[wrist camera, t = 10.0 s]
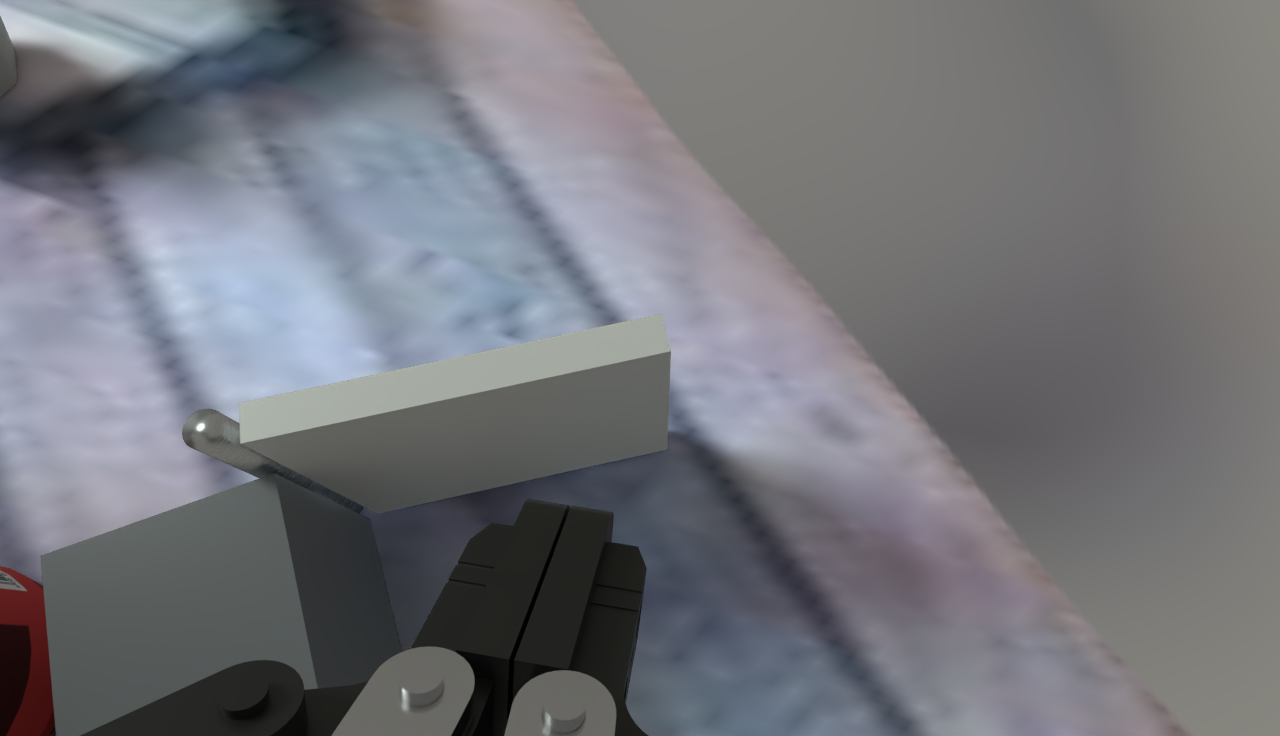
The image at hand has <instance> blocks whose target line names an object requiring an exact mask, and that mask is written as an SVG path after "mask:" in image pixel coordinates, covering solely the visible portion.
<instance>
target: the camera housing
mask: <svg viewBox="0 0 1280 736" xmlns="http://www.w3.org/2000/svg"><path fill="white" fill-rule="evenodd" d="M182 436H183V440H184V442H185V443H186V444H187V445H188V446H189V447H191V448H193V449H195V450H197V451H200V452H202V453H204V454H206V455H209V456H211V457H213V458H215V459H218V460H220V461H222V462H224V463H227V464H229V465H231V466H233V467H235V468H238V469H240V470H242V471H244V472H247V473H249V474H251V475H253V476H256V477H258V478H260V479H257V480H254V481H252V482H249V483H246V484H243V485H240V486H237V487H235V488H232V489H229V490H226V491H223V492H220V493H218V494H215V495H212V496H209V497H206V498H203V499H201V500H198V501H195V502H192V503H189V504H186V505H184V506H181V507H178V508H175V509H172V510H169V511H167V512H164V513H161V514H158V515H155V516H152V517H150V518H147V519H144V520H141V521H138V522H135V523H133V524H130V525H127V526H124V527H121V528H118V529H116V530H113V531H110V532H107V533H104V534H101V535H99V536H96V537H93V538H90V539H87V540H84V541H82V542H79V543H76V544H73V545H70V546H68V547H65V548H62V549H59V550H56V551H53V552H51V553H48V554H45V555H42V556H41V566H42V578H43V590H44V601H45V613H46V625H47V636H48V648H49V659H50V671H51V683H52V694H53V706H54V718H55V729H56V736H80V735H82V734H85V733H87V732H89V731H91V730H93V729H95V728H98V727H100V726H102V725H104V724H106V723H108V722H111V721H113V720H115V719H117V718H119V717H121V716H124V715H126V714H128V713H130V712H132V711H134V710H137V709H139V708H141V707H143V706H145V705H148V704H150V703H152V702H154V701H156V700H158V699H161V698H163V697H165V696H167V695H169V694H171V693H174V692H176V691H178V690H180V689H182V688H184V687H187V686H189V685H191V684H193V683H195V682H197V681H200V680H202V679H204V678H206V677H208V676H211V675H213V674H215V673H217V672H219V671H221V670H224V669H226V668H228V667H231V666H233V665H236V664H240V663H243V662H248V661H254V660H273V661H278V662H282V663H284V664H287V665H289V666H290V667H292V668H293V669H295V670H296V671H297V672H298V673H299V675H300V676H301V678H302V680H303V685H304V690H307V689H318V688H328V687H338V686H348V685H354V684H359V683H362V682H366V681H369V680H370V678H371V677H372V676H373V674H374V673H375V672H376V670H377V669H378V668H379V667H380V666H381V665H382V664H383V663H384V662H385V661H387V660H388V659H390V658H391V657H393V656H395V655H397V654H399V653H401V652H402V650H401V646H400V642H399V638H398V634H397V630H396V626H395V622H394V617H393V613H392V609H391V605H390V601H389V597H388V593H387V589H386V584H385V580H384V576H383V572H382V568H381V564H380V560H379V556H378V551H377V547H376V543H375V539H374V535H373V531H372V527H371V523H370V519H369V518H367V517H365V516H362V515H360V514H358V513H359V512H360V511H361V510H362V508H363V506H362V505H360V504H358V503H356V502H354V501H352V500H350V499H348V498H346V497H344V496H342V495H340V494H338V493H336V492H334V491H332V490H330V489H328V488H327V487H325V486H323V485H321V484H319V483H317V482H315V481H313V480H311V479H309V478H307V477H305V476H303V475H301V474H299V473H297V472H295V471H293V470H291V469H289V468H287V467H285V466H283V465H281V464H279V463H277V462H276V461H274V460H272V459H270V458H268V457H266V456H264V455H262V454H260V453H258V452H256V451H254V450H252V449H250V448H248V447H246V446H244V445H242V444H240V424H239V423H238V422H236V421H234V420H232V419H230V418H229V417H227V416H225V415H223V414H221V413H220V412H218V411H216V410H213V409H202V410H199V411H197V412H195V413H193V414H192V415H191V416H190V417H189V418H188V419H187V420H186V422H185V424H184V426H183V430H182Z"/></svg>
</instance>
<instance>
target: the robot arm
mask: <svg viewBox="0 0 1280 736" xmlns="http://www.w3.org/2000/svg"><path fill="white" fill-rule="evenodd" d="M613 517H614V515H613V512H607V511H601V510H595V509H588V508H582V507H576V506H572V507H571V508H570V506H569V505H562V504H556V503H550V502H544V501H537V500H531V499H527V500H526V502H525V504H524V506H523V508H522V510H521V512H520V514H519V516H518V519H517V521H516V523H515V525H514V527H512V526H506V525H500V524H494V523H492V524H490V525H489V526H488V527H486V528H485V529H484V530H482V531H481V532H480V533H478V534H477V535H476V536H474V537H473V538H472V539H470V541H469V543H468V544H467V546H466V548H465V550H464V552H463V554H462V556H461V557H460V559H459V561H458V566H457V565H456V567H455V568H454V570H453V572H452V574H451V576H450V578H449V582H448V583H446V585H445V587H444V589H443V591H442V592H441V594H440V596H439V598H438V600H437V602H436V604H435V605H434V607H433V609H432V611H431V613H430V615H429V616H428V618H427V620H426V622H425V624H424V626H423V628H422V629H421V631H420V633H419V635H418V637H417V639H416V640H415V642H414V644H413V646H412V648H411V649H409V650H406V651H403V652H401V653H399V654H397V655H395V656H393V657H391V658H390V659H388V660H387V661H385V662H384V663H383V664H382V665H381V666H380V667H379V668H378V669H377V670H376V672H375V673H374V674H373V676H372V677H371V678H370V680H369V681H366V682H362V683H359V684H354V685H348V686H338V687H328V688H318V689H307V690H304V685H303V680H302V678H301V676H300V675H299V673H298V672H297V671H296V670H295V669H293V668H292V667H290V666H289V665H287V664H284V663H282V662H278V661H273V660H254V661H248V662H243V663H240V664H236V665H233V666H231V667H228V668H226V669H224V670H221V671H219V672H217V673H215V674H213V675H211V676H208V677H206V678H204V679H202V680H200V681H197V682H195V683H193V684H191V685H189V686H187V687H184V688H182V689H180V690H178V691H176V692H174V693H171V694H169V695H167V696H165V697H163V698H161V699H158V700H156V701H154V702H152V703H150V704H148V705H145V706H143V707H141V708H139V709H137V710H134V711H132V712H130V713H128V714H126V715H124V716H121V717H119V718H117V719H115V720H113V721H111V722H108V723H106V724H104V725H102V726H100V727H98V728H95V729H93V730H91V731H89V732H87V733H85V734H82V735H80V736H648V735H647V734H645V733H644V732H643V731H642V730H641V729H640V728H639V727H638V726H637V725H636V724H635V722H634V721H633V719H632V718H631V716H630V714H629V712H628V710H627V707H626V698H627V693H628V687H629V682H630V676H631V671H632V665H633V660H634V654H635V649H636V643H637V638H638V630H639V623H640V615H641V607H642V599H643V592H644V584H645V576H646V566H645V564H644V561H643V559H642V556H641V553H640V551H639V548H638V547H636V546H630V545H624V544H618V543H611V539H612V529H613Z"/></svg>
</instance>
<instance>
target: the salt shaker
mask: <svg viewBox="0 0 1280 736" xmlns="http://www.w3.org/2000/svg"><path fill="white" fill-rule="evenodd" d="M16 83H17V69H16V52H15V50H14V47H13V45H12V43H11V40H10V38H9V35H8V33H7V31H6V28H5V26H4V23H3V21H2V19H1V16H0V98H1V97H2V96H3V95H4V94H5V93H6V92H7V91H8V90H9V89H11V88H12V87H13V86H14V85H15V84H16Z"/></svg>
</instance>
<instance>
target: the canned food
mask: <svg viewBox="0 0 1280 736" xmlns="http://www.w3.org/2000/svg"><path fill="white" fill-rule="evenodd" d="M54 728H55V718H54V706H53V694H52V683H51V671H50V659H49V648H48V636H47V625H46V613H45V601H44V590H43V587H42V586H41V585H39V584H38V583H36V582H35V581H33V580H31V579H30V578H28V577H26V576H24V575H22V574H20V573H18V572H16V571H14V570H12V569H10V568H6V567H1V566H0V736H50V734H51V733H52V731H53V730H54Z"/></svg>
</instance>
